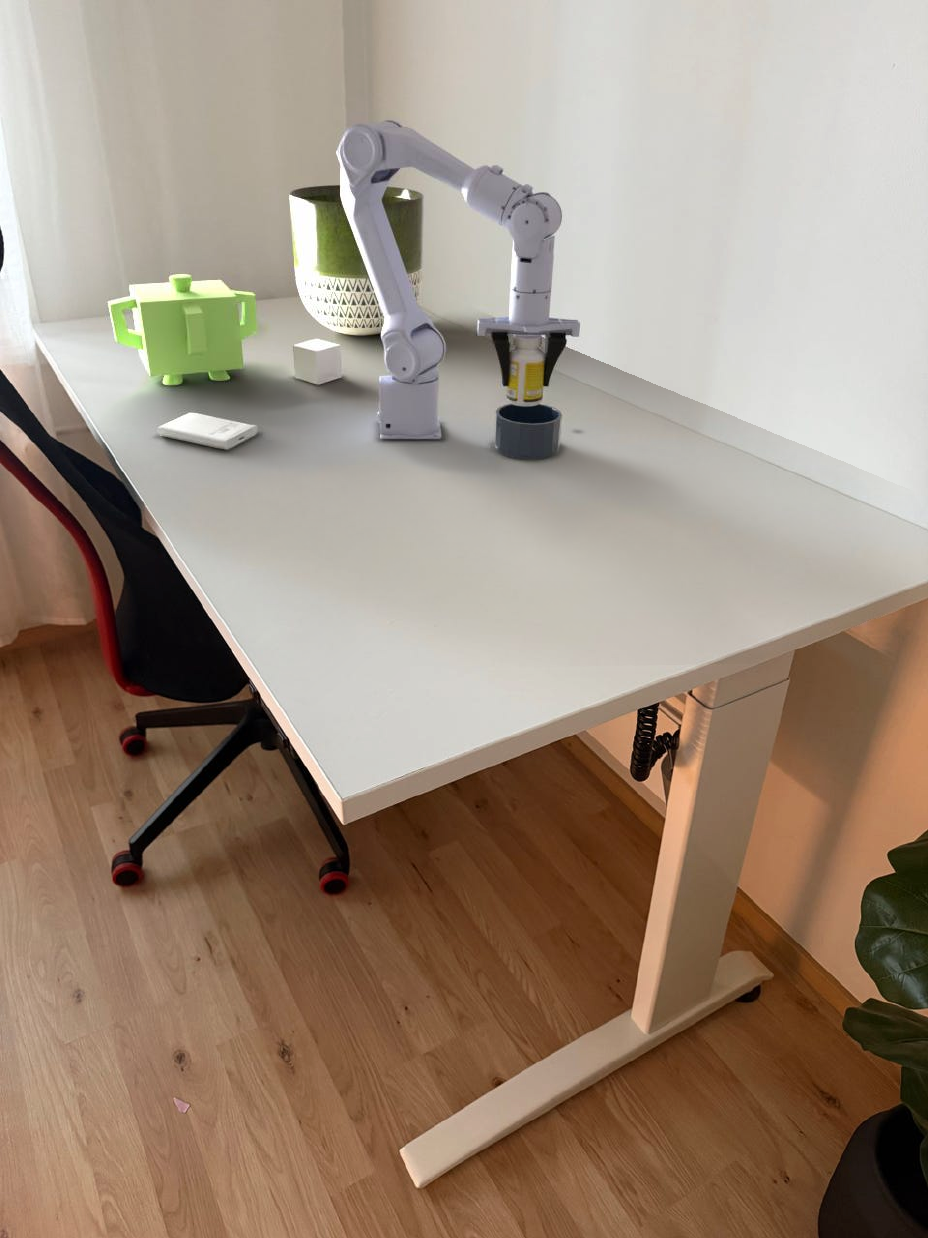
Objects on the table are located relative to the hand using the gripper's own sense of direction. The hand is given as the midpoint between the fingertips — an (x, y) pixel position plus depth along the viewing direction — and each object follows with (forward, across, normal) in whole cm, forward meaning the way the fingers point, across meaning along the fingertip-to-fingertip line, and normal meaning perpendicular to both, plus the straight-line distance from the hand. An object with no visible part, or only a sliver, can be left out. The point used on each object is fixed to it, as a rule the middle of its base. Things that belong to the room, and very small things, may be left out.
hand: (524, 384), depth 139 cm
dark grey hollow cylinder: (+10, +1, +1) cm, 11 cm away
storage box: (+11, -56, +38) cm, 69 cm away
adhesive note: (+11, -33, +36) cm, 50 cm away
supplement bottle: (+3, 0, 0) cm, 3 cm away
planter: (+11, -26, +69) cm, 75 cm away
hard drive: (+11, -48, +6) cm, 49 cm away
